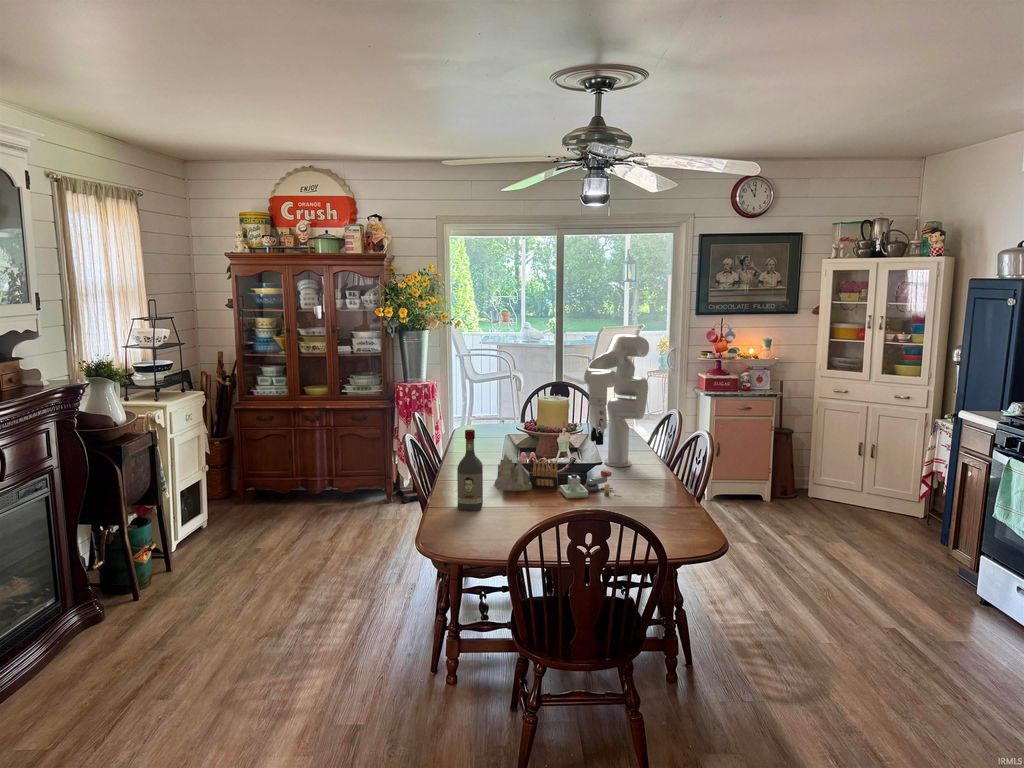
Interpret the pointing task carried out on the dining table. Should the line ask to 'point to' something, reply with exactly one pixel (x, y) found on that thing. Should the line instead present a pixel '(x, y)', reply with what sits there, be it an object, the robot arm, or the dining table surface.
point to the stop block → (573, 483)
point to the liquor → (470, 477)
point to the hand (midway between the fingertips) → (596, 442)
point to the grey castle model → (512, 476)
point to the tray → (581, 493)
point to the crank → (599, 479)
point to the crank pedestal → (596, 489)
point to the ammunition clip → (545, 475)
